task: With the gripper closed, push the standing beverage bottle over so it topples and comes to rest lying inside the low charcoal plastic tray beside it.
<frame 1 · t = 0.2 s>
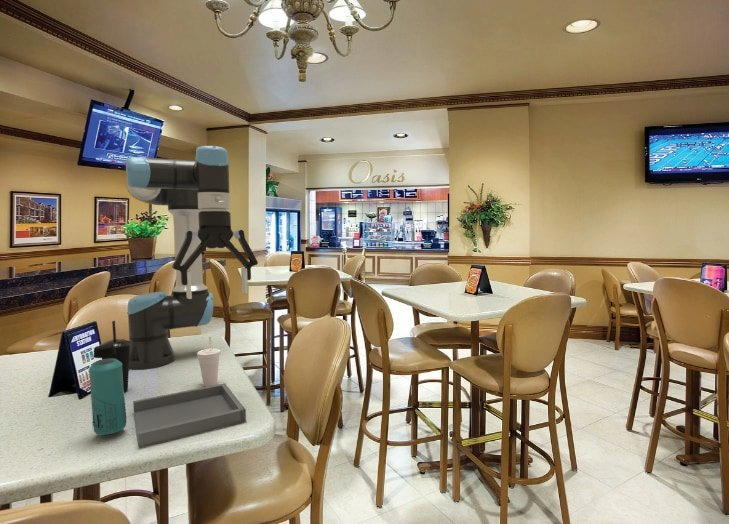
hand: (218, 295, 108), 28 cm above the table, tool pointing down, fingers open, 13 cm apart
beverage bottle: (110, 435, 94), on the table
smoothie: (210, 384, 123), on the table
drinking cup: (118, 392, 119), on the table
charcoal tray: (188, 417, 102), on the table
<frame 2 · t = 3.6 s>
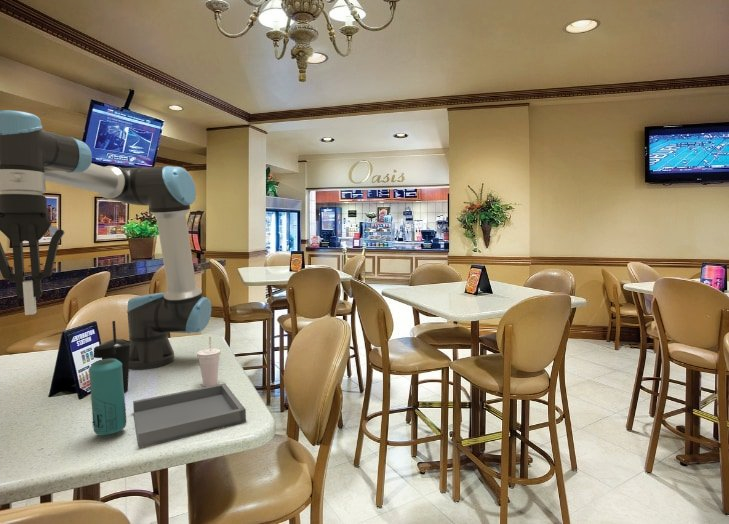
hand: (30, 313, 85), 28 cm above the table, tool pointing down, fingers closed
nothing on the table moved.
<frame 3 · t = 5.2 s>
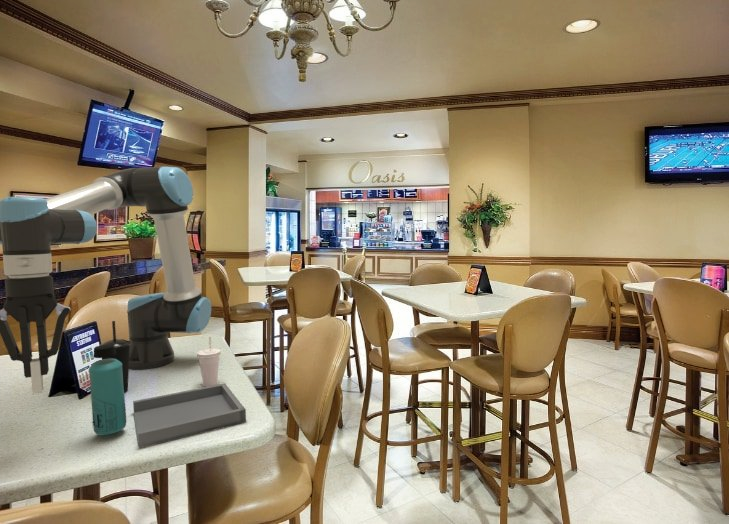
hand: (38, 391, 86), 12 cm above the table, tool pointing down, fingers closed
nothing on the table moved.
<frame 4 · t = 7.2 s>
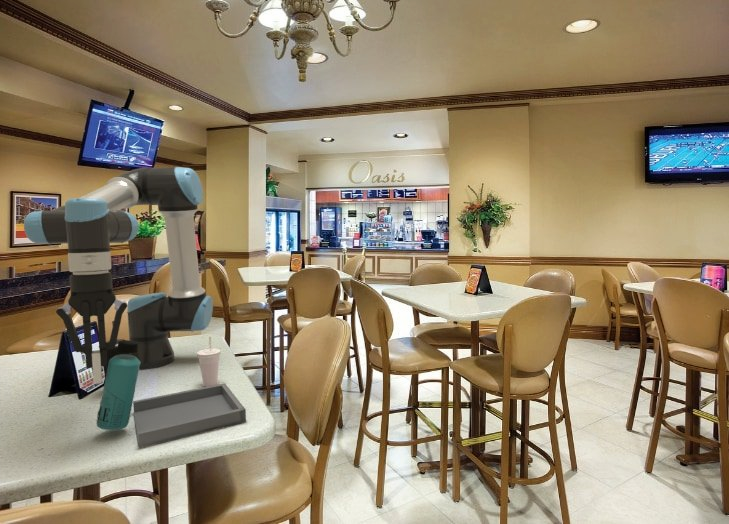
hand: (98, 381, 92), 12 cm above the table, tool pointing down, fingers closed
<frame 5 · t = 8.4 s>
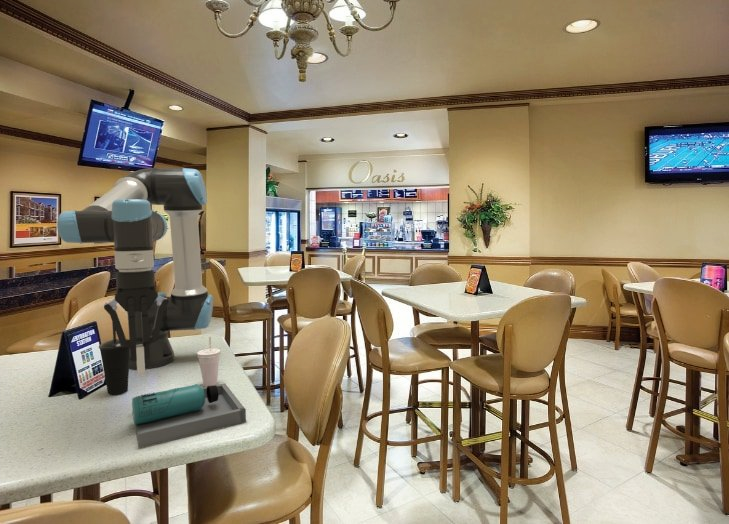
hand: (141, 374, 96), 12 cm above the table, tool pointing down, fingers closed
beverage bottle: (125, 413, 96), point 4 cm above the table, touching charcoal tray
everything else where it was.
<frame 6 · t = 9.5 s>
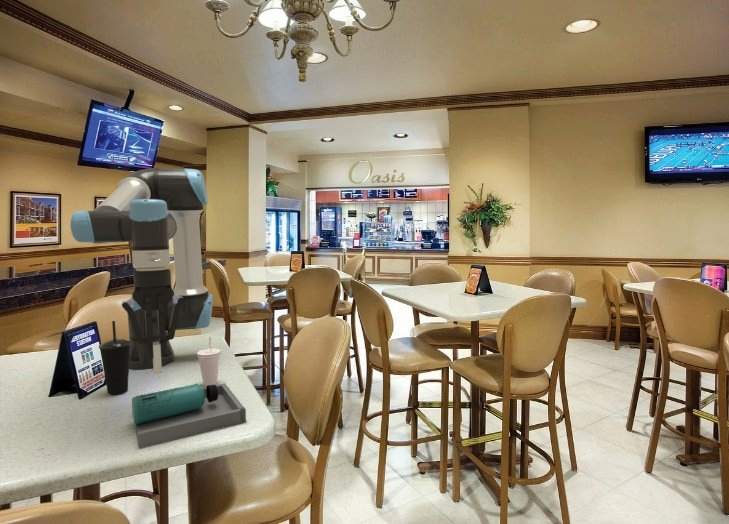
hand: (157, 371, 98), 12 cm above the table, tool pointing down, fingers closed
nothing on the table moved.
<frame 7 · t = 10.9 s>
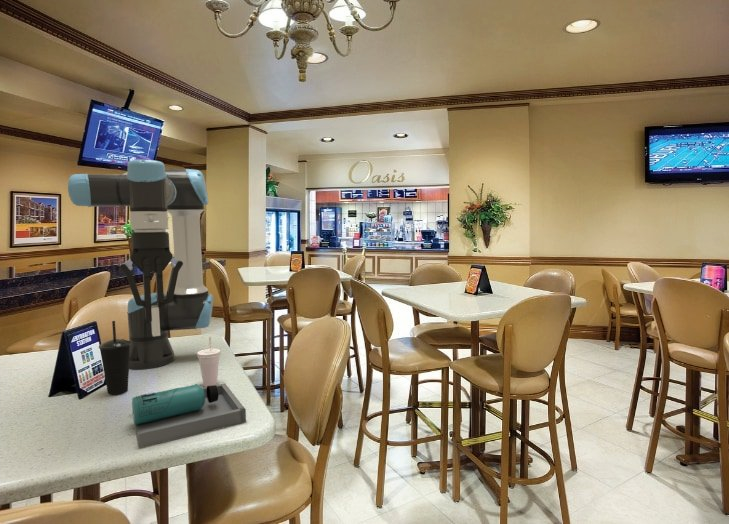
hand: (156, 334, 97), 21 cm above the table, tool pointing down, fingers closed
nothing on the table moved.
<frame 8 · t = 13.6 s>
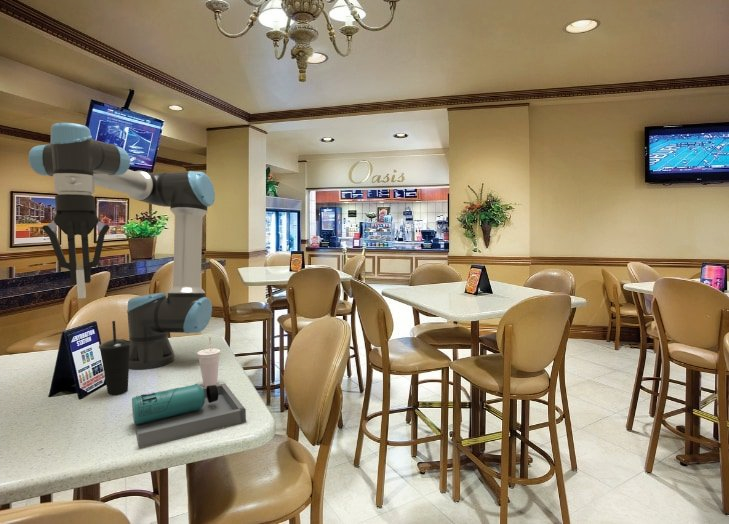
hand: (82, 297, 99), 29 cm above the table, tool pointing down, fingers closed
nothing on the table moved.
at the end: beverage bottle tilted 90°; beverage bottle touching charcoal tray; beverage bottle inside the target area (4.0 cm from its centre), point 3.9 cm above the table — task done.
